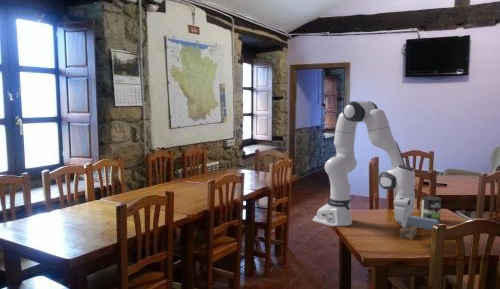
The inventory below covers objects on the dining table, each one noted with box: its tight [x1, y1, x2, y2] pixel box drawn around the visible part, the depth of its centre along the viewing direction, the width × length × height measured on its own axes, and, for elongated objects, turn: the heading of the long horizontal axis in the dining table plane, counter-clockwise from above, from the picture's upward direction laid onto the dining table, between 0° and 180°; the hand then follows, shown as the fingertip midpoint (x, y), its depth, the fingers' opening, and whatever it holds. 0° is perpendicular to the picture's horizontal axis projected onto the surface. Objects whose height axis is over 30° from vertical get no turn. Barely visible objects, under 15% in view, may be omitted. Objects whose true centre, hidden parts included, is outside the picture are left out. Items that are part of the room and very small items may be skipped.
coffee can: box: [420, 195, 442, 224], centre depth 231 cm, size 10×10×14 cm
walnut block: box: [399, 225, 418, 240], centre depth 207 cm, size 6×10×4 cm, turn 144°
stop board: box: [397, 214, 438, 231], centre depth 222 cm, size 20×4×5 cm, turn 54°
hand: (404, 226), depth 197 cm, fingers closed
